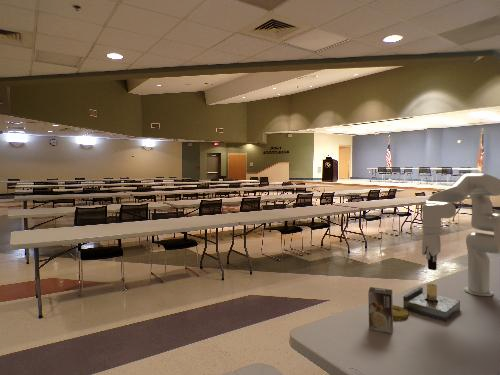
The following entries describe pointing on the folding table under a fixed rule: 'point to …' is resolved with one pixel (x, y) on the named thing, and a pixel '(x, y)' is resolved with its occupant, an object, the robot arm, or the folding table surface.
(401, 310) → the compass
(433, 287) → the brass cylinder
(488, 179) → the robot arm
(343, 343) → the folding table surface
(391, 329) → the coffee box
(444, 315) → the jig
